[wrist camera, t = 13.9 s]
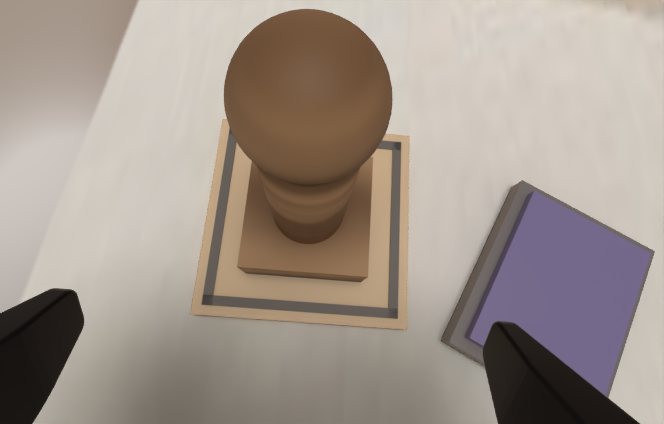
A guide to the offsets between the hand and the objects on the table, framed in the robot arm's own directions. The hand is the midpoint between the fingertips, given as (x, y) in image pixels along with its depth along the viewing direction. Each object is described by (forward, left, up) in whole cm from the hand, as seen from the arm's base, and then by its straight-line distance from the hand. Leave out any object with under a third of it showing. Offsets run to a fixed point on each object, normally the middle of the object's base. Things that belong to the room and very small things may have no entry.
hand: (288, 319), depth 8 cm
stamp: (+4, +3, -11) cm, 12 cm away
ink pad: (+11, -8, -12) cm, 18 cm away
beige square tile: (+4, +4, -12) cm, 13 cm away
